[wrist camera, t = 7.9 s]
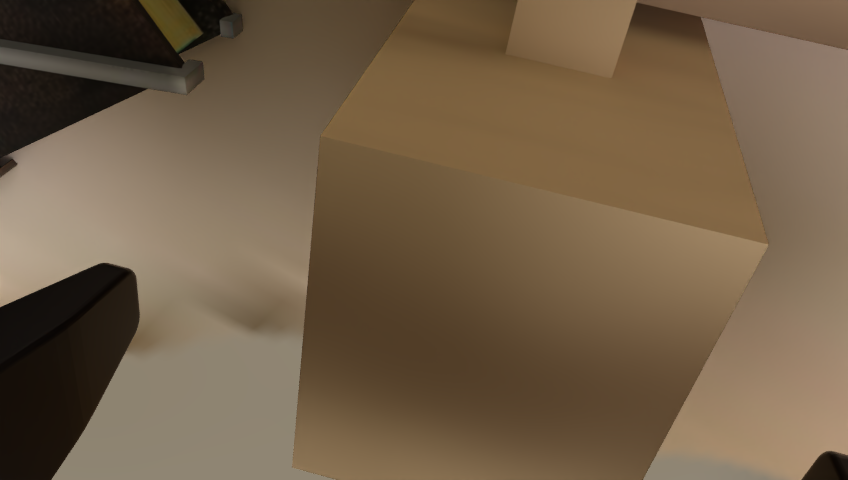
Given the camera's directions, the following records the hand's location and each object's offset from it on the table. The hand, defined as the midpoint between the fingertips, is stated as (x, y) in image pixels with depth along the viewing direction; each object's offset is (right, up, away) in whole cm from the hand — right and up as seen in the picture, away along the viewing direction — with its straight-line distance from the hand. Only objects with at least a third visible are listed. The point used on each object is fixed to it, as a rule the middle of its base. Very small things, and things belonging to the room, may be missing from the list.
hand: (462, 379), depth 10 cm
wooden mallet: (+2, +7, +5) cm, 9 cm away
